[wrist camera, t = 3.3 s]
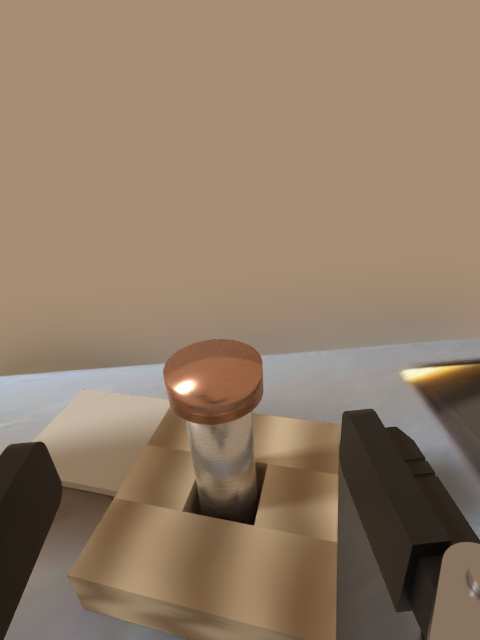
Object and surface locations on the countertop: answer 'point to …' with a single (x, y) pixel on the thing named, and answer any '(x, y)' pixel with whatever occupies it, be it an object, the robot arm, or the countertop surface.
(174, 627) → the bore block
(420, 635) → the robot arm
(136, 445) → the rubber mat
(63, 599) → the countertop surface
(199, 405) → the copper-capped metal cylinder
